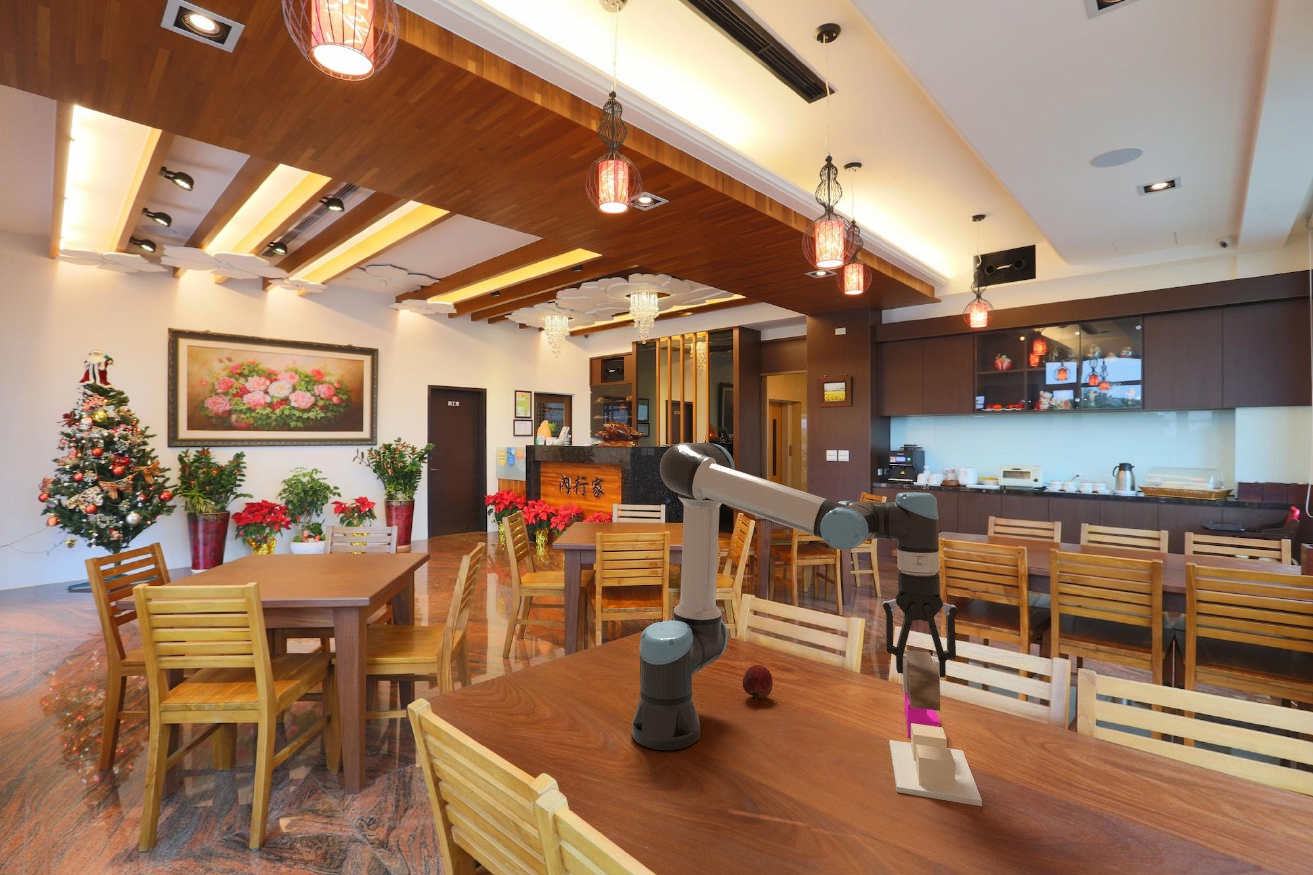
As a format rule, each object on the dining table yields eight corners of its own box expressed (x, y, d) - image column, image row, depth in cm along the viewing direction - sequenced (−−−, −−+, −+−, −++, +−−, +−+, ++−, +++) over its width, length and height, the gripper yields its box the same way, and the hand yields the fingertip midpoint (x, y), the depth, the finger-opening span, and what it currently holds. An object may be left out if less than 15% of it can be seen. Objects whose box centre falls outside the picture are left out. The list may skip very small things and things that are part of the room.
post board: (896, 791, 108) (896, 759, 109) (889, 744, 126) (889, 716, 126) (982, 806, 104) (982, 772, 104) (962, 755, 121) (962, 725, 121)
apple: (779, 698, 148) (779, 666, 148) (756, 706, 144) (756, 673, 144) (758, 688, 154) (758, 657, 154) (736, 695, 150) (736, 664, 150)
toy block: (939, 743, 127) (939, 708, 127) (908, 738, 129) (907, 703, 129) (933, 713, 141) (933, 681, 141) (904, 709, 143) (904, 678, 143)
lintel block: (910, 707, 109) (909, 674, 109) (903, 679, 123) (903, 649, 123) (940, 710, 108) (939, 677, 108) (930, 681, 121) (929, 652, 121)
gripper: (870, 573, 115) (872, 693, 114) (973, 578, 109) (976, 705, 109) (868, 565, 122) (871, 679, 122) (965, 570, 116) (968, 689, 116)
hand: (920, 691), depth 115 cm, fingers closed on lintel block, 5 cm apart
